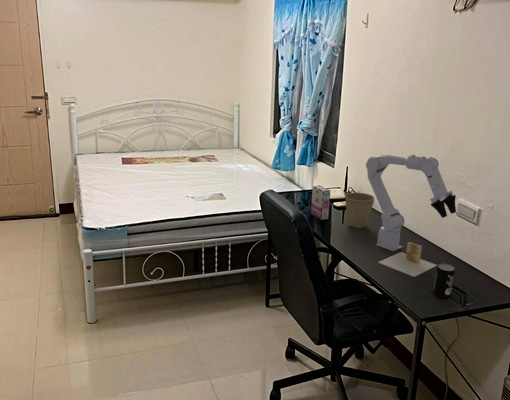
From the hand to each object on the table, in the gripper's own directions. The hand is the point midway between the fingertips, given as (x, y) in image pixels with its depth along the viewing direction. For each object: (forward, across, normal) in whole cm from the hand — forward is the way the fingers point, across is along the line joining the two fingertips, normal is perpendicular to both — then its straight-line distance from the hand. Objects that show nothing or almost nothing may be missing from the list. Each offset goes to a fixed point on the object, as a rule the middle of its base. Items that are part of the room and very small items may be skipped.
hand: (449, 215), depth 210 cm
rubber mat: (+14, -13, +20) cm, 28 cm away
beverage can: (+27, -27, -1) cm, 38 cm away
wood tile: (+14, -9, +20) cm, 26 cm away
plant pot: (-8, +10, +58) cm, 59 cm away
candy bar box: (-19, +4, +76) cm, 79 cm away
